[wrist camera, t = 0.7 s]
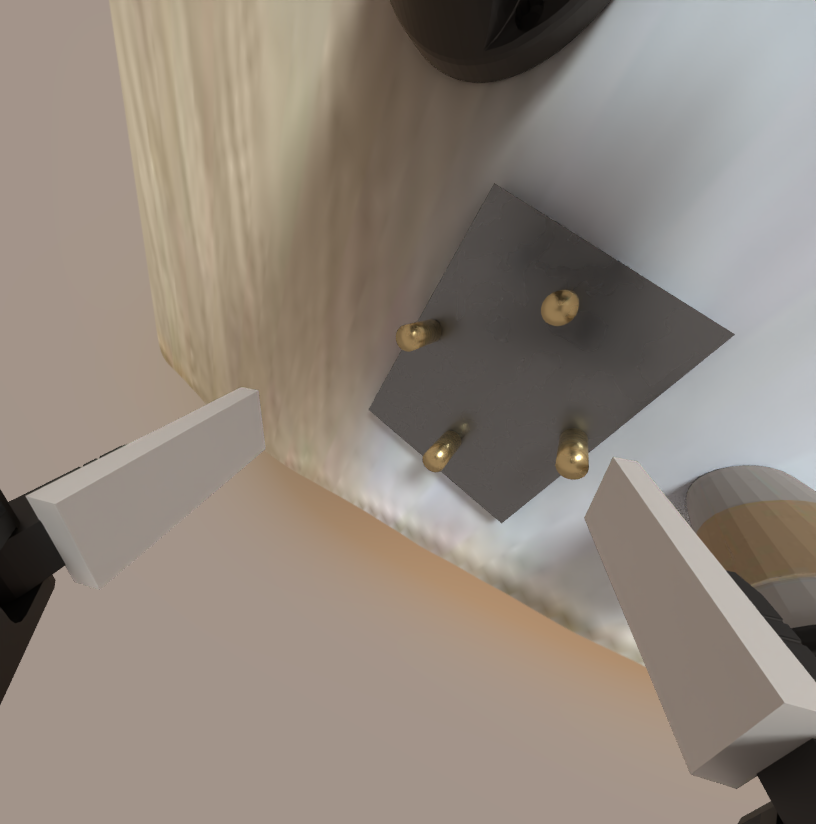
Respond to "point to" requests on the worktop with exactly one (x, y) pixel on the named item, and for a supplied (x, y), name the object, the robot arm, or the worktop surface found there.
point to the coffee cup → (762, 536)
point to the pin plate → (533, 356)
